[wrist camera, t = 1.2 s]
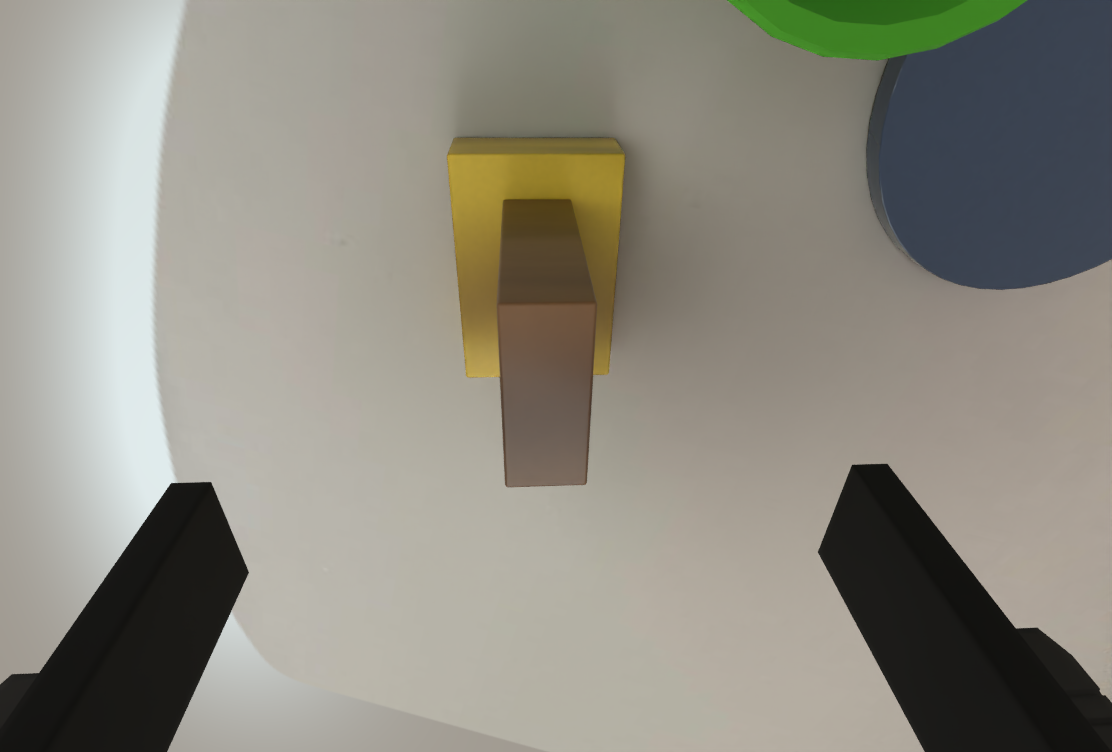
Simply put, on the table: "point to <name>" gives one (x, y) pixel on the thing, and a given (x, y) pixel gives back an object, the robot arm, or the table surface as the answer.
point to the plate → (1001, 148)
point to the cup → (872, 23)
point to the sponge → (538, 288)
